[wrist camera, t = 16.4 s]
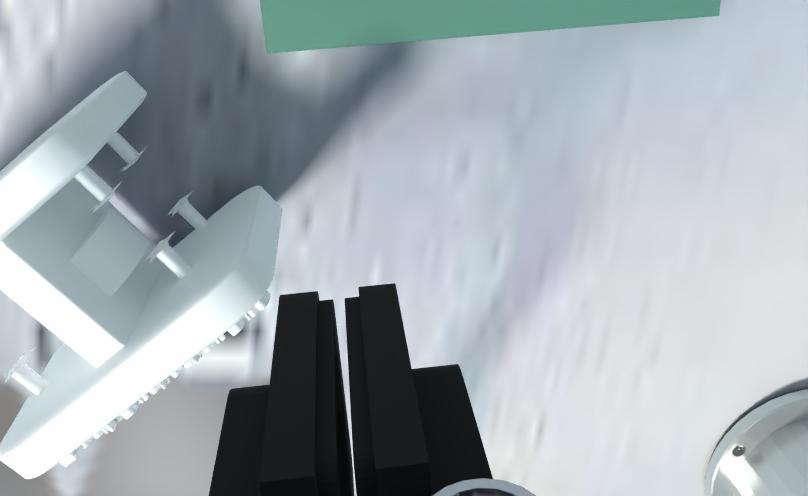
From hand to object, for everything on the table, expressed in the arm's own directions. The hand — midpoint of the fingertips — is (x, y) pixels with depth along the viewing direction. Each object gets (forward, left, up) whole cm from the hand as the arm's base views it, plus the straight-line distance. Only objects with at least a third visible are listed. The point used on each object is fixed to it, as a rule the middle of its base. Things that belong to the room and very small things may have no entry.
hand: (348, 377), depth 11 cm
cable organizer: (-8, +12, -29) cm, 33 cm away
